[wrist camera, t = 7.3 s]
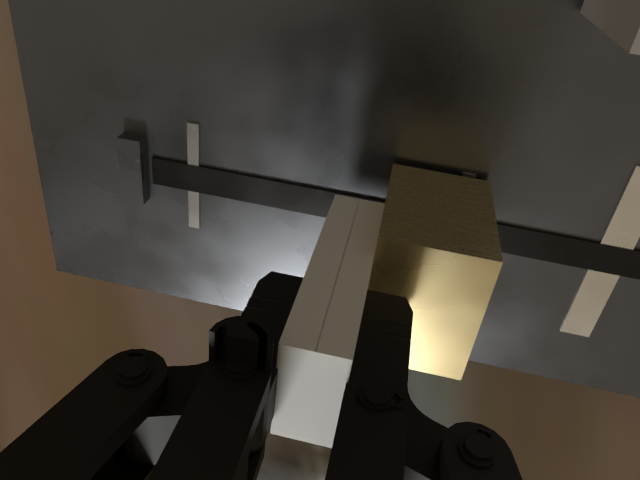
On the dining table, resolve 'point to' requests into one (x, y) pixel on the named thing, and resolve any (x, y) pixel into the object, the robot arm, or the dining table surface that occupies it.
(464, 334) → the block
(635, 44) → the grey fader
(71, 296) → the dining table surface
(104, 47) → the console
